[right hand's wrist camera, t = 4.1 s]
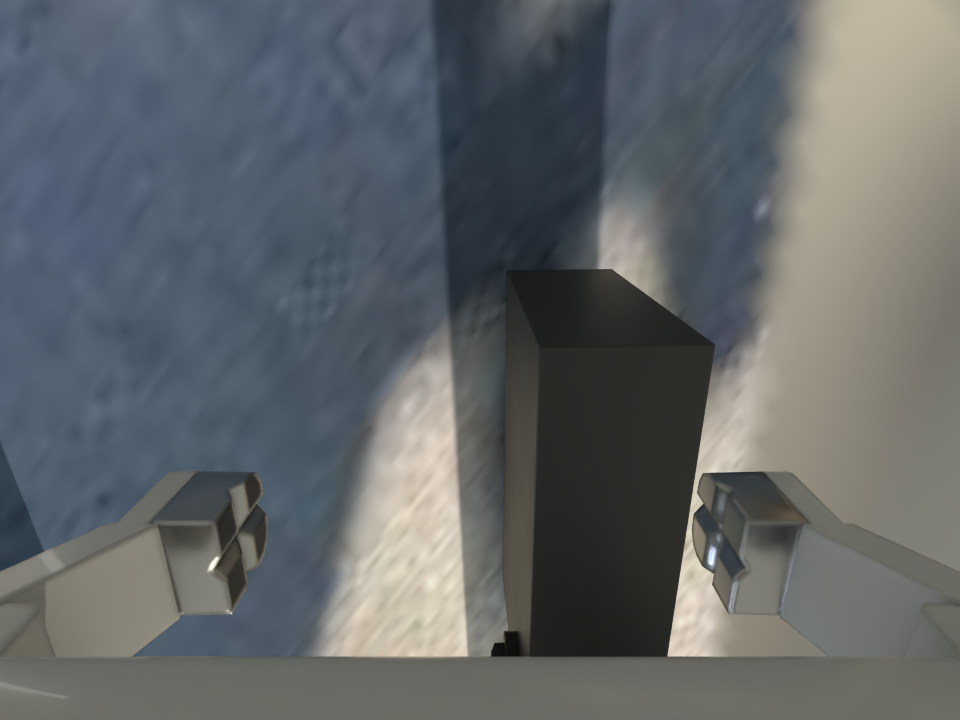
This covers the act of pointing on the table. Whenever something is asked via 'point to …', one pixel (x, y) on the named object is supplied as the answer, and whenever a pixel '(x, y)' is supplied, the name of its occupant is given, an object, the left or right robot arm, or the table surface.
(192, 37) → the table surface
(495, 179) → the table surface
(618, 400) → the box
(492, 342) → the table surface
